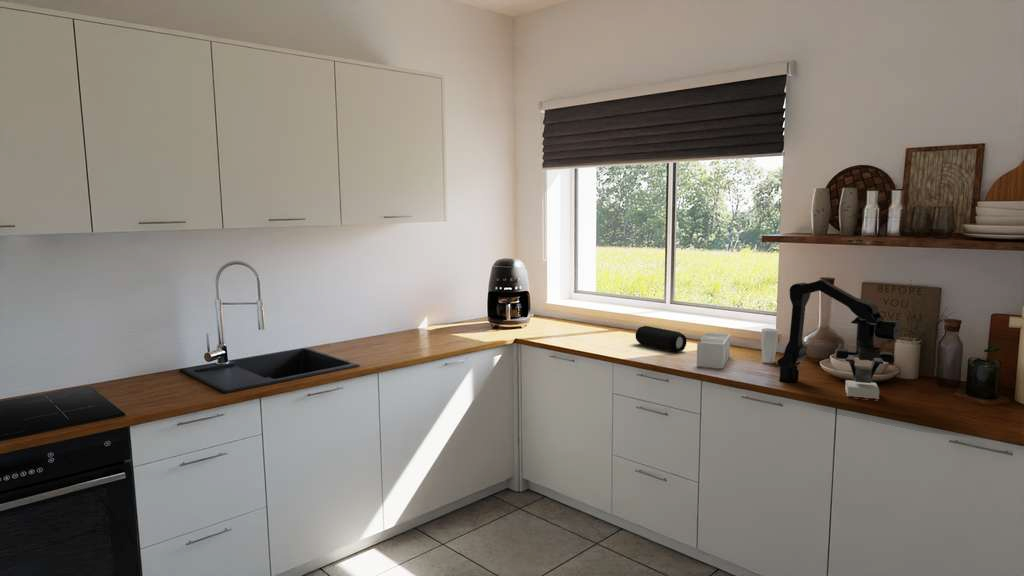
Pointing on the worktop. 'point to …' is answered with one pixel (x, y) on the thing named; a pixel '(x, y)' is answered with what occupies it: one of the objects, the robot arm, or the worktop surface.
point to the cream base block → (862, 389)
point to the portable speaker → (661, 338)
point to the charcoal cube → (863, 374)
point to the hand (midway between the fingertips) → (862, 378)
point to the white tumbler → (769, 345)
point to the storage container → (713, 350)
